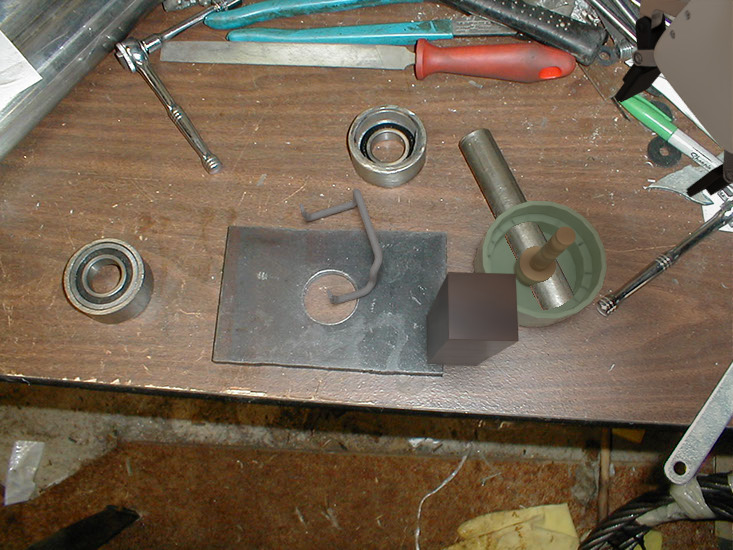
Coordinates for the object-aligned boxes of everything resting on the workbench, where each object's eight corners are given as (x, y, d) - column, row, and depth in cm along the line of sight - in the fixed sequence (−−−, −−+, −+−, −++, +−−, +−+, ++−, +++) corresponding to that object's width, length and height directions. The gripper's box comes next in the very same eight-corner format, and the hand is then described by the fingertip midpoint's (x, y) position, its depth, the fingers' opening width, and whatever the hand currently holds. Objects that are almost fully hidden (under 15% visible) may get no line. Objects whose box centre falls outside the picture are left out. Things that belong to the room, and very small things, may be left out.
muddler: (549, 287, 68) (589, 256, 56) (514, 286, 68) (545, 255, 56) (547, 254, 69) (586, 216, 57) (512, 253, 70) (543, 214, 57)
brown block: (476, 366, 66) (518, 341, 47) (426, 364, 66) (448, 339, 47) (475, 317, 68) (515, 273, 49) (426, 315, 68) (447, 271, 49)
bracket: (303, 217, 72) (296, 202, 67) (361, 197, 72) (357, 181, 67) (332, 308, 69) (326, 299, 64) (392, 287, 69) (391, 277, 64)
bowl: (591, 329, 67) (611, 320, 62) (474, 325, 68) (484, 316, 62) (582, 220, 71) (601, 202, 65) (472, 217, 71) (481, 199, 66)
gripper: (1013, 69, 27) (770, 205, 43) (782, -164, 31) (640, 41, 48) (895, 135, 26) (692, 248, 43) (673, -114, 30) (567, 77, 47)
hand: (665, 138), depth 45 cm, fingers open, 9 cm apart
